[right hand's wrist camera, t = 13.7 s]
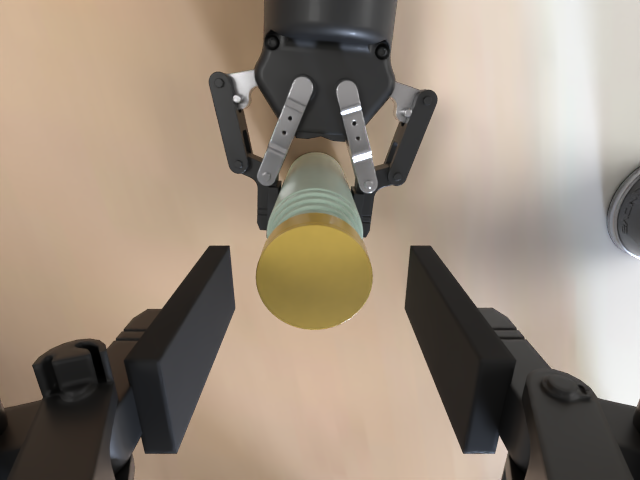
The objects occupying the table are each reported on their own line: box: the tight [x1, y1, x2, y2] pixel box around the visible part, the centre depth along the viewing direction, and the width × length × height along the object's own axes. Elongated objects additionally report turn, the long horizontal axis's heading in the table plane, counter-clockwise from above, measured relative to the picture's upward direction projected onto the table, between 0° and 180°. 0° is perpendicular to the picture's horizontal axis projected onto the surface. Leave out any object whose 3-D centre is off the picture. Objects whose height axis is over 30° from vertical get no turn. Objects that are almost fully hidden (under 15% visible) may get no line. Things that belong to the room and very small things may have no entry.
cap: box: [256, 213, 373, 330], centre depth 15 cm, size 4×4×2 cm
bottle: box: [267, 152, 363, 240], centre depth 23 cm, size 5×5×18 cm
